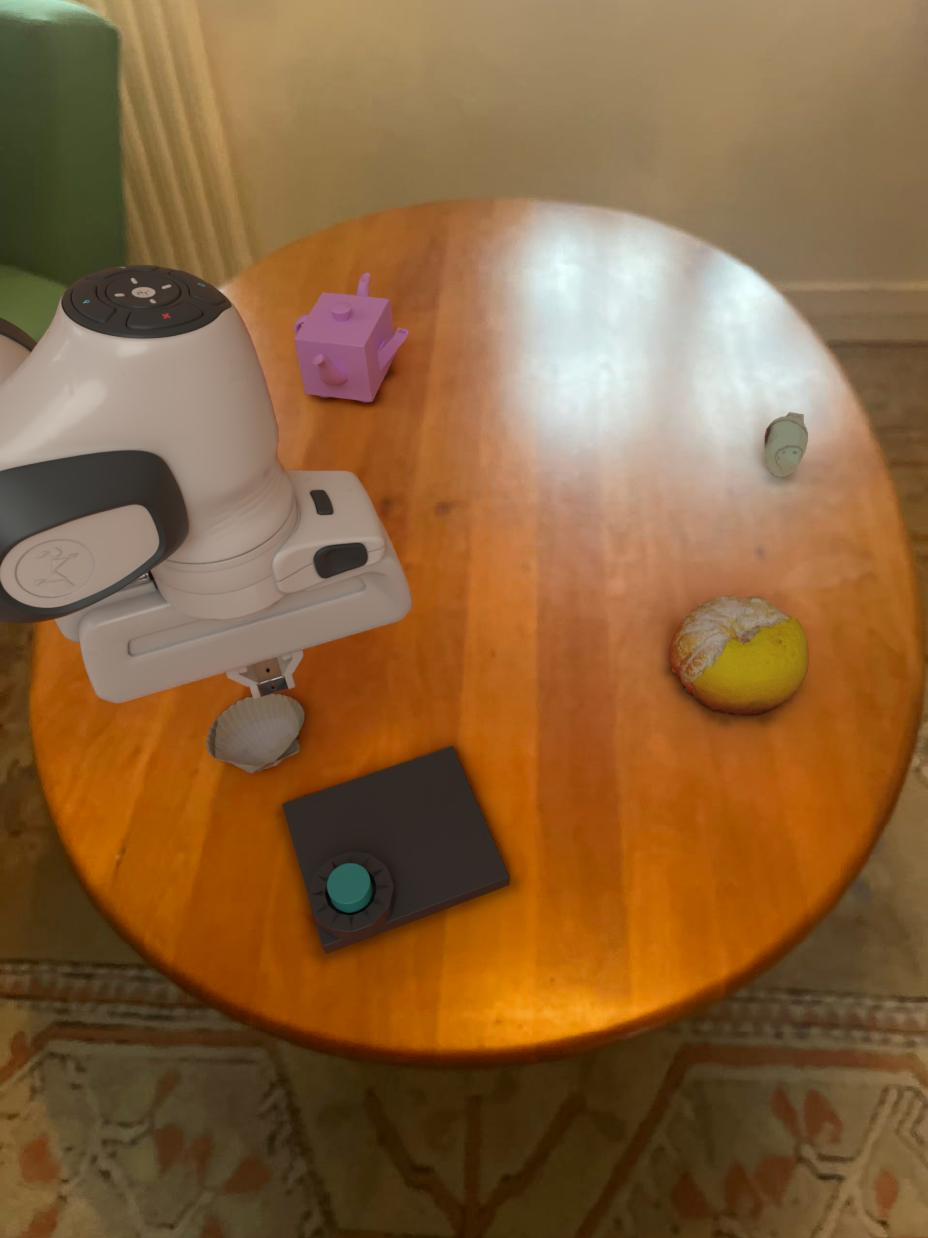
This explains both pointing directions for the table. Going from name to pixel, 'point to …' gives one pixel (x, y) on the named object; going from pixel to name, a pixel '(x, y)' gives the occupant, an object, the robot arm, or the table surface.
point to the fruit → (740, 655)
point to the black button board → (395, 845)
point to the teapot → (347, 344)
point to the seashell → (257, 732)
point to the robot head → (785, 443)
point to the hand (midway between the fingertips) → (273, 686)
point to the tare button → (349, 887)
